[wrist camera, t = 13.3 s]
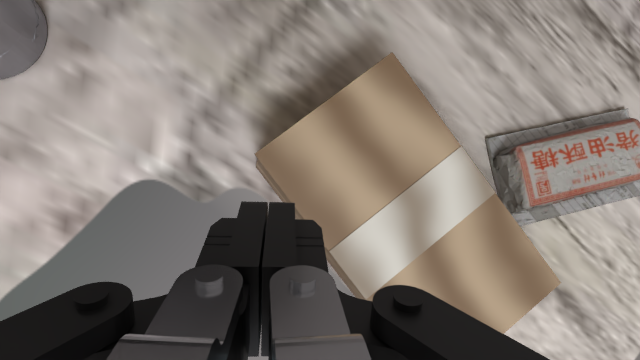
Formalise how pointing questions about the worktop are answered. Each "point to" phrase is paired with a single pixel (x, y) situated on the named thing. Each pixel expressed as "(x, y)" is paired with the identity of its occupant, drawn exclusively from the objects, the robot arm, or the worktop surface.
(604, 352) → the worktop surface
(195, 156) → the worktop surface
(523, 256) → the carton lid
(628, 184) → the packaged product
